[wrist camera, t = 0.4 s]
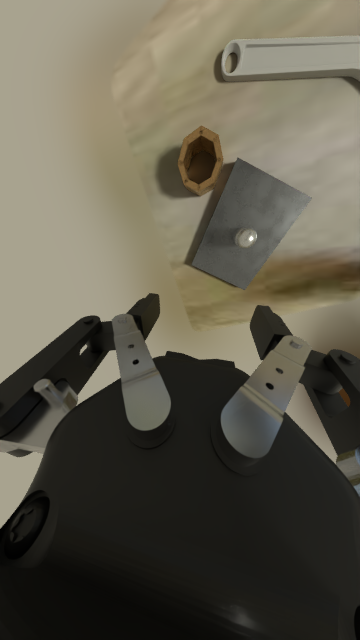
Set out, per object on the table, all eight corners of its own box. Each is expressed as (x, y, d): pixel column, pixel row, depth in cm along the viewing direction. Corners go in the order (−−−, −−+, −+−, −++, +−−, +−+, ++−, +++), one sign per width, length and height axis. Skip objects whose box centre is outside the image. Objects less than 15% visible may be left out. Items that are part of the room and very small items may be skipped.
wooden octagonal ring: (192, 136, 24) (189, 118, 20) (227, 155, 24) (230, 141, 20) (179, 185, 28) (173, 178, 24) (209, 200, 28) (208, 196, 24)
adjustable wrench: (218, 86, 21) (218, 75, 20) (234, -6, 18) (236, -26, 16) (401, 107, 19) (416, 97, 18) (460, 10, 16) (486, -12, 14)
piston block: (235, 161, 25) (244, 139, 18) (305, 199, 26) (337, 191, 19) (192, 263, 35) (187, 272, 28) (243, 287, 36) (250, 301, 29)
